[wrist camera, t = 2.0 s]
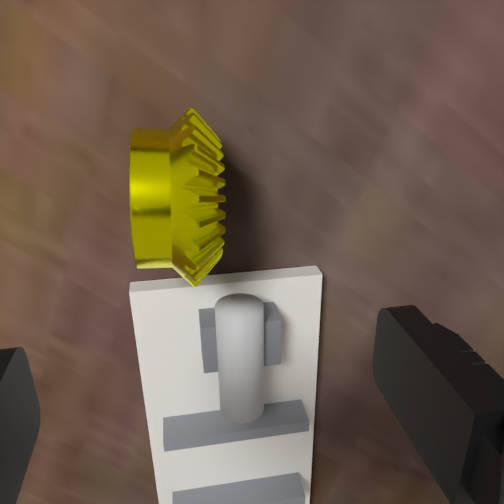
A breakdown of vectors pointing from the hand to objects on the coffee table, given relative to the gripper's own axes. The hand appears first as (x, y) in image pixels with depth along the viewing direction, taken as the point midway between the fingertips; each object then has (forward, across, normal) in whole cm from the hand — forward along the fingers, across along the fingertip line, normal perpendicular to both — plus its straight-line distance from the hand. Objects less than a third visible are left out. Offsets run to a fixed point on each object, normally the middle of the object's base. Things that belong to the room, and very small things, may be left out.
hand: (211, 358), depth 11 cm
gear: (+16, 0, 0) cm, 16 cm away
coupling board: (+16, -2, +19) cm, 25 cm away
